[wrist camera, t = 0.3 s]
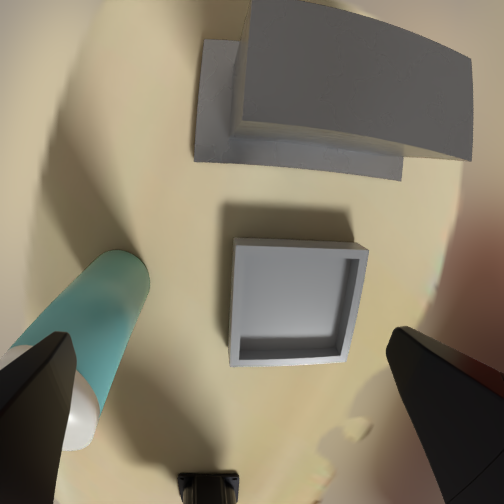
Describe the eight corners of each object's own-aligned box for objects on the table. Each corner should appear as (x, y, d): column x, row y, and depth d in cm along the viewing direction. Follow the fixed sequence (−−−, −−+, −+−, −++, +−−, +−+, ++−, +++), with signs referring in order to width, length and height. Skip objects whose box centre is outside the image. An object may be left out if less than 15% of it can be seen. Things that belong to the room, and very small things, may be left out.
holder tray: (337, 347, 24) (346, 361, 22) (228, 351, 23) (229, 366, 21) (356, 242, 22) (369, 250, 20) (233, 237, 21) (235, 245, 19)
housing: (396, 180, 21) (493, 200, 12) (194, 161, 19) (177, 162, 10) (402, 75, 19) (494, 47, 10) (204, 42, 17) (201, -38, 8)
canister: (151, 311, 22) (105, 459, 9) (93, 307, 21) (13, 436, 9) (149, 250, 20) (77, 371, 8) (87, 248, 20) (-26, 350, 7)
